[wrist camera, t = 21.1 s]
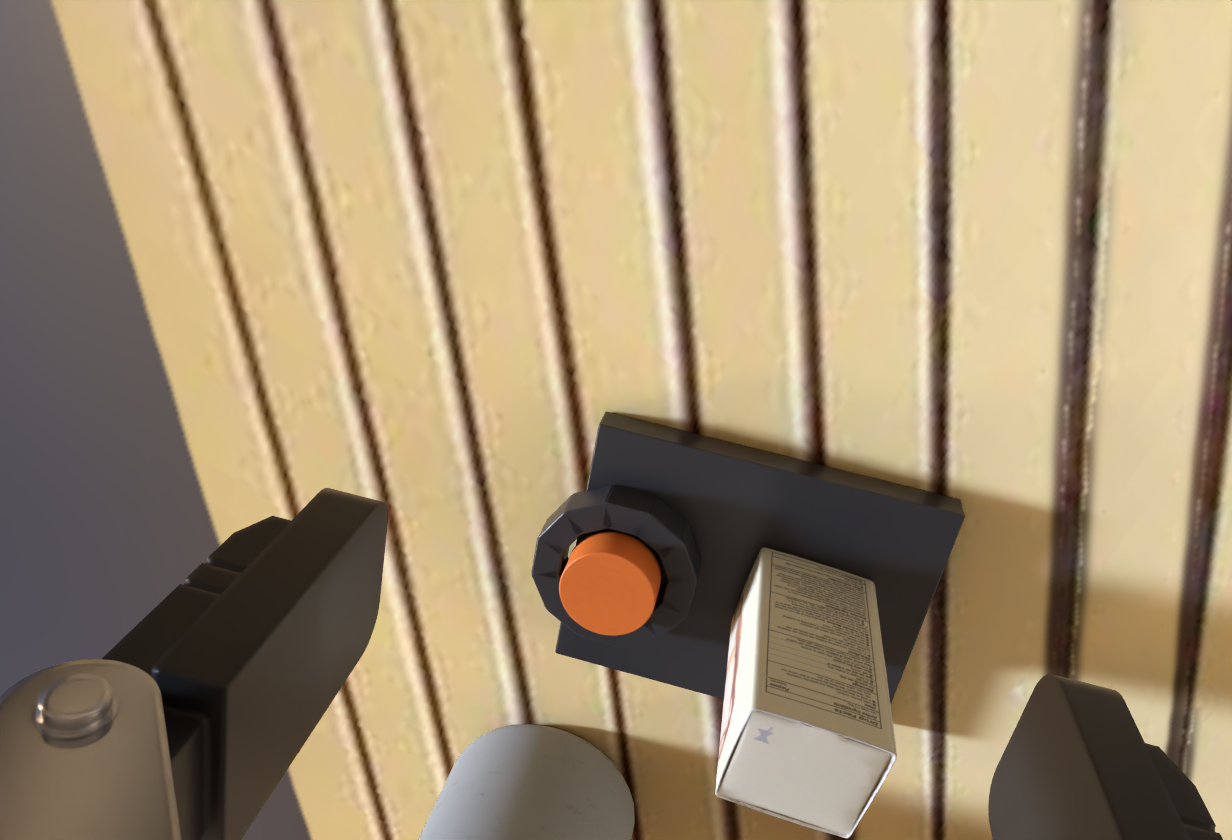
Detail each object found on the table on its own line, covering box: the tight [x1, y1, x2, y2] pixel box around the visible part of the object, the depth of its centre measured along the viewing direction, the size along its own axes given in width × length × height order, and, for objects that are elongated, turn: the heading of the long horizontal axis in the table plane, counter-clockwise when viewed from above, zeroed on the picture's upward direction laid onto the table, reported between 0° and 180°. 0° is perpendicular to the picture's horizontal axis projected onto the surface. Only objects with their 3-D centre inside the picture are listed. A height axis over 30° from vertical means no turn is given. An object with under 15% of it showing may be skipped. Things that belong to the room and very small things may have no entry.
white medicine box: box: [715, 547, 897, 838], centre depth 36 cm, size 5×4×10 cm
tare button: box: [559, 532, 661, 636], centre depth 40 cm, size 4×4×2 cm
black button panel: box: [532, 412, 965, 704], centre depth 41 cm, size 16×12×3 cm
